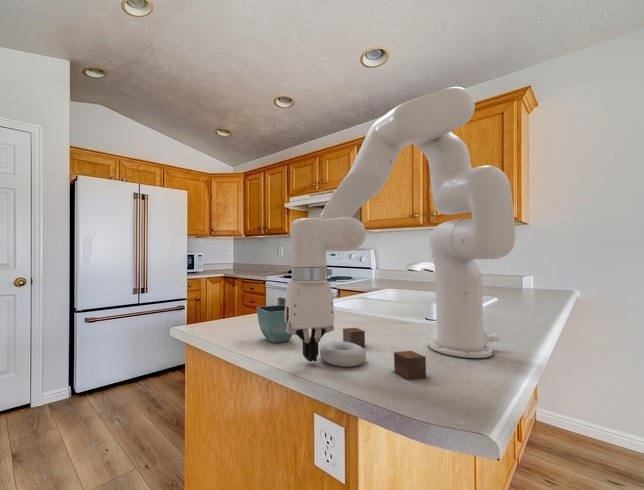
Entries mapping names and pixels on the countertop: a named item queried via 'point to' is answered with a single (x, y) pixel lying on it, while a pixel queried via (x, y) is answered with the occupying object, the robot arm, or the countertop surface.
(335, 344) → the donut
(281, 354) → the countertop surface
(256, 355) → the countertop surface
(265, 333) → the flower pot
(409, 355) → the walnut block
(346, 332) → the walnut block
